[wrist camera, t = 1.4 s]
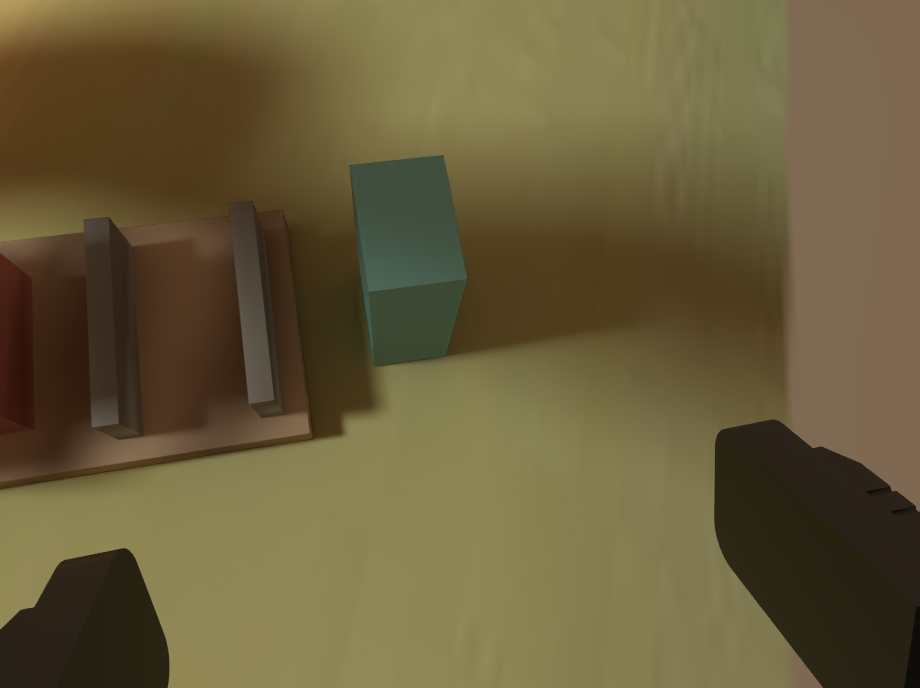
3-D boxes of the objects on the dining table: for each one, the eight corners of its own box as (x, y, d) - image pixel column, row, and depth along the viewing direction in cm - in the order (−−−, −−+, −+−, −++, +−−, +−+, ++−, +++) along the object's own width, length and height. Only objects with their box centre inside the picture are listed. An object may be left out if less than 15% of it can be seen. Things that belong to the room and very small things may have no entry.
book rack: (-165, 514, 30) (-521, 483, 18) (-151, 274, 33) (-450, 115, 21) (313, 438, 33) (271, 369, 21) (286, 223, 36) (237, 57, 24)
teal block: (374, 366, 34) (368, 291, 25) (359, 270, 36) (349, 165, 26) (445, 356, 35) (467, 279, 25) (428, 261, 36) (443, 155, 27)
